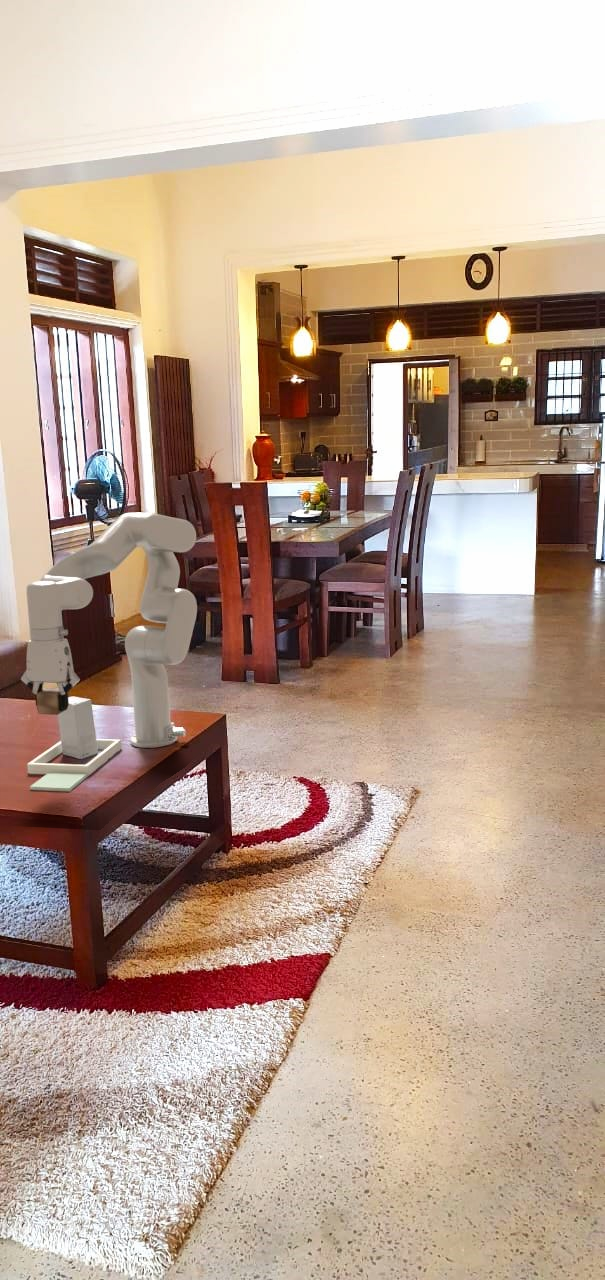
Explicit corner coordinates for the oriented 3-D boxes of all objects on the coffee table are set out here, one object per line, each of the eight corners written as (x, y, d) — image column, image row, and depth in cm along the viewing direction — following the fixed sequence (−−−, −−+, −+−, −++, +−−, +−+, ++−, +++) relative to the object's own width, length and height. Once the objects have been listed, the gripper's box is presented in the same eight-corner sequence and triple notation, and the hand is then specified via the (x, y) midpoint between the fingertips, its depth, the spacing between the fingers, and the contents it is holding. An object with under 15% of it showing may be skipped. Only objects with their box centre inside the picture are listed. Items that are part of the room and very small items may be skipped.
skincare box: (98, 754, 249) (93, 699, 246) (79, 760, 245) (74, 704, 242) (79, 748, 255) (74, 694, 252) (60, 754, 250) (54, 699, 247)
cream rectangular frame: (121, 748, 253) (120, 739, 253) (88, 775, 233) (87, 766, 233) (65, 746, 257) (64, 738, 256) (28, 773, 236) (27, 764, 236)
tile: (87, 776, 233) (87, 773, 232) (69, 791, 223) (69, 788, 223) (49, 775, 235) (49, 772, 235) (30, 789, 225) (29, 786, 225)
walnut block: (67, 709, 229) (65, 688, 228) (57, 714, 224) (55, 694, 223) (48, 708, 230) (46, 688, 229) (38, 714, 225) (36, 693, 225)
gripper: (87, 631, 225) (92, 706, 229) (21, 630, 229) (27, 704, 233) (72, 637, 218) (78, 715, 222) (5, 636, 222) (12, 712, 226)
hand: (52, 708), depth 227 cm, fingers closed on walnut block, 5 cm apart
